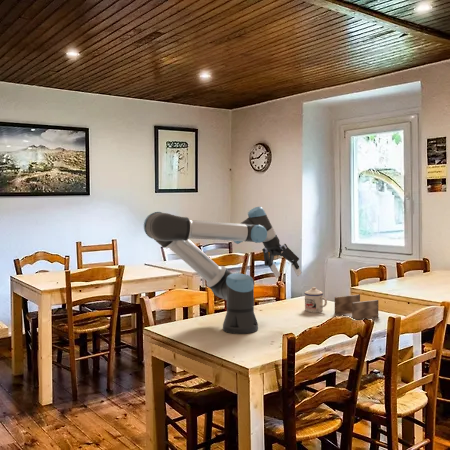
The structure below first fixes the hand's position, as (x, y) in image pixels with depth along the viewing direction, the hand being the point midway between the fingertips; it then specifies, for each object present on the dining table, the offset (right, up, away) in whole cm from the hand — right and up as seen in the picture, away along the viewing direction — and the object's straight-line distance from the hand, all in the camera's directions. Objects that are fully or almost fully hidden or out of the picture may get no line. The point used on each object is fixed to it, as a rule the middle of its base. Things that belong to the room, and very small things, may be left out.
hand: (288, 275), depth 255 cm
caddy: (+32, -19, -1) cm, 37 cm away
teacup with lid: (+15, -18, +10) cm, 26 cm away
